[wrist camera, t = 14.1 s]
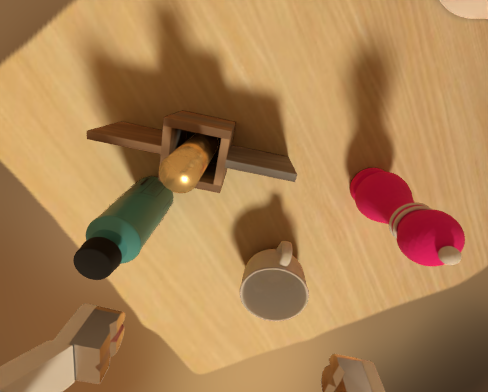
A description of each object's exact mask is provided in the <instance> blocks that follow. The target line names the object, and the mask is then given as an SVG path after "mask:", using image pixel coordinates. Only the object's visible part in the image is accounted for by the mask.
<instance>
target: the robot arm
mask: <svg viewBox="0 0 488 392" xmlns="http://www.w3.org/2000/svg"><path fill="white" fill-rule="evenodd" d="M439 1H440V2H441V3H442V5H443V6H444V7H445V8H446V9H448V10H449V11H450V12H452V13H453V14H455V15H458V16H460V17H464V18H469V19H488V0H439ZM124 319H125V312H122V311H118V310H113V309H109V308H105V307H101V306H95V305H91V304H86V303H84V304H83V305H81V306H80V307H79V308H78V310H77V311H76V312H75V314H74V315H73V316H72V317H71V319H70V320H69V321H68V322H67V324H66V325H65V326H64V327H63V329H62V330H61V331H60V332H59V334H58V335H57V336H56V337H55V339H54V340H53V341H49V340H48V341H46V342H44V343H43V344H41V345H39V346H37V347H35V348H33V349H32V350H30V351H28V352H26V353H24V354H22V355H21V356H19V357H17V358H15V359H13V360H11V361H10V362H8V363H6V364H4V365H2V366H0V392H63V391H64V390H65V389H67V388H68V387H69V386H70V385H71V384H73V383H74V382H75V380H76V381H83V382H89V383H95V384H100V383H101V381H102V379H103V377H104V375H105V373H106V371H107V370H108V368H109V366H110V357H112V356H113V355H115V354H116V352H117V350H118V349H119V347H120V344H121V341H122V339H123V334H124V326H123V324H122V323H123V321H124ZM329 363H330V365H328V366H326V367H325V368H324V370H323V372H322V379H321V384H322V391H323V392H385V390H384V387H383V385H382V383H381V380H380V377H379V375H378V373H377V370H376V368H375V365H374V364H373V362H372V361H367V360H362V359H357V358H354V357H348V356H342V355H337V354H332V355H331V356H330V358H329Z"/></svg>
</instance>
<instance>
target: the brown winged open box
mask: <svg viewBox="0 0 488 392" xmlns="http://www.w3.org/2000/svg"><path fill="white" fill-rule="evenodd" d="M235 124H236V122H234V121H229V120H224V119H220V118H215V117H211V116H206V115H201V114H197V113H192V112H187V111H180V112H177V113H174V114H171V115H168V116H165V117H164V122H163V130H159V129H154V128H149V127H144V126H140V125H135V124H130V123H125V122H117V123H114V124H110V125H106V126H103V127H99V128H95V129H91V130H88V131H87V139H90V140H95V141H99V142H104V143H109V144H114V145H119V146H124V147H128V148H133V149H138V150H143V151H148V152H152V153H157V154H161V156H160V164H161V163H162V161H163V160H164V159H165V158H166V157H168V156H169V155H170V154H171V153H172V152H174V151H175V150H176V149H177V148H179V147H180V146H181V145H182V144H183V143H185V142H186V136H187V131H191V132H196V133H200V134H205V135H210V136H214V137H219V138H221V144H220V150H219V155H218V161H217V164H213V163H209V164H208V166H207V168H206V169H205V171H204V173H203V175H202V176H201V178H200V180H199V181H198V183H197V185H196V186H195V188H197V189H202V190H207V191H212V192H217V193H220V191H221V188H222V185H223V182H224V179H225V175H226V172H227V168H230V169H235V170H239V171H244V172H249V173H254V174H259V175H264V176H268V177H273V178H278V179H283V180H288V181H293V182H295V180H296V177H297V173H296V171H295V169H294V167H293V165H292V163H291V161H290V159H289V157H286V156H282V155H277V154H272V153H267V152H263V151H258V150H253V149H249V148H244V147H239V146H234V145H232V140H233V135H234V130H235ZM158 181H161V180H160V177H159V179H158Z"/></svg>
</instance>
